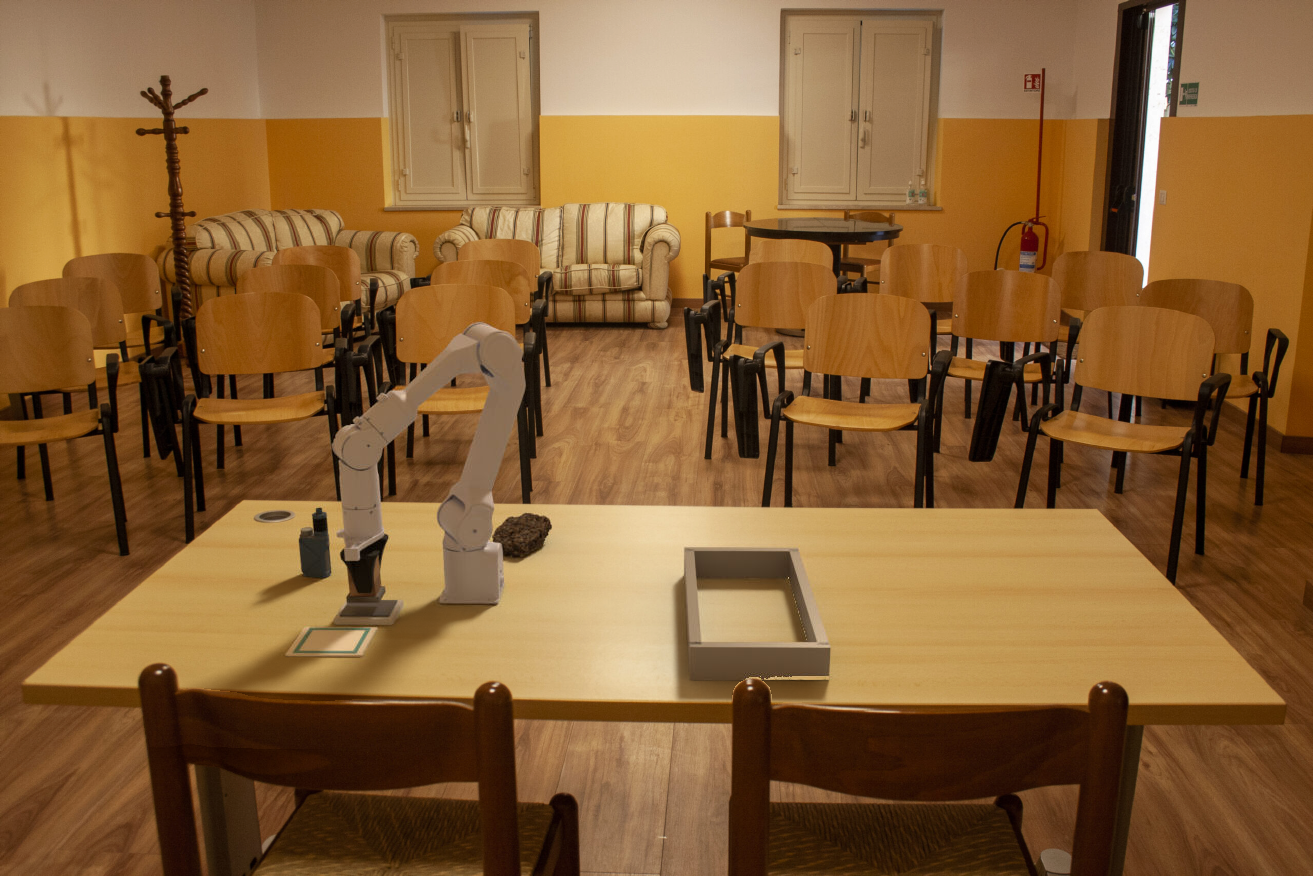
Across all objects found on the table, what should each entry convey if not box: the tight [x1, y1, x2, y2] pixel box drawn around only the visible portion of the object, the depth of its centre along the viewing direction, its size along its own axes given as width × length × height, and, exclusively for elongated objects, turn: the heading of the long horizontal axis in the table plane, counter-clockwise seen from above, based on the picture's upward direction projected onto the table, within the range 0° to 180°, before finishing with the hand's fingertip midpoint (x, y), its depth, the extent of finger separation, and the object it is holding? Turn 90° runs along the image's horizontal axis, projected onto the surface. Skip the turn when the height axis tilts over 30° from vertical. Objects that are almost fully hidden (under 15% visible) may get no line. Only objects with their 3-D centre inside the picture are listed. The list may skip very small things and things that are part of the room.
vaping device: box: [298, 507, 332, 579], centre depth 185 cm, size 3×5×12 cm, turn 78°
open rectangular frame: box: [683, 546, 832, 681], centre depth 169 cm, size 19×37×5 cm, turn 0°
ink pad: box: [333, 599, 404, 626], centre depth 171 cm, size 9×7×1 cm
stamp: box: [345, 555, 386, 603], centre depth 170 cm, size 5×4×6 cm
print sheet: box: [285, 626, 379, 658], centre depth 162 cm, size 11×9×1 cm
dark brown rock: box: [491, 512, 553, 558], centre depth 200 cm, size 12×10×5 cm
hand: (368, 586), depth 170 cm, fingers closed on stamp, 3 cm apart
